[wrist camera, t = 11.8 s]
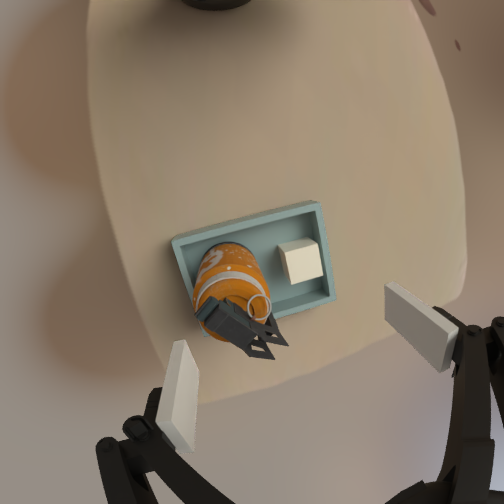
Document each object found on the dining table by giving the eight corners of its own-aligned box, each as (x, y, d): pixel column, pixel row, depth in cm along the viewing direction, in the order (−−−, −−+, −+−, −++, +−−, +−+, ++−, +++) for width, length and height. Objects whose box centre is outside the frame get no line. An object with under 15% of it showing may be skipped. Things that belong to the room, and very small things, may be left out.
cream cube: (277, 244, 43) (284, 252, 39) (307, 236, 44) (317, 243, 39) (284, 273, 45) (291, 284, 40) (312, 265, 45) (323, 275, 40)
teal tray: (176, 235, 42) (171, 241, 38) (310, 200, 43) (320, 202, 39) (205, 323, 46) (204, 336, 42) (326, 289, 47) (336, 299, 43)
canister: (224, 228, 42) (226, 268, 23) (278, 271, 44) (317, 335, 25) (188, 272, 43) (166, 340, 24) (242, 311, 46) (257, 393, 26)
